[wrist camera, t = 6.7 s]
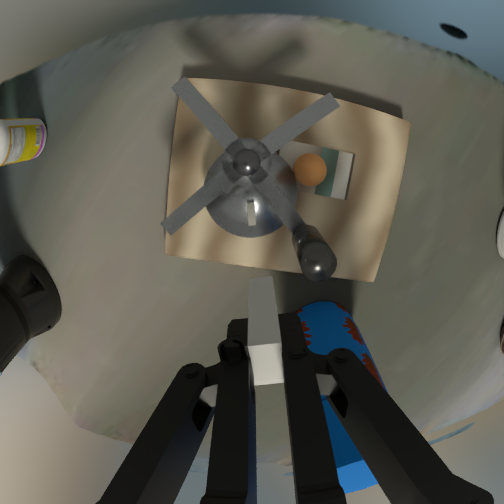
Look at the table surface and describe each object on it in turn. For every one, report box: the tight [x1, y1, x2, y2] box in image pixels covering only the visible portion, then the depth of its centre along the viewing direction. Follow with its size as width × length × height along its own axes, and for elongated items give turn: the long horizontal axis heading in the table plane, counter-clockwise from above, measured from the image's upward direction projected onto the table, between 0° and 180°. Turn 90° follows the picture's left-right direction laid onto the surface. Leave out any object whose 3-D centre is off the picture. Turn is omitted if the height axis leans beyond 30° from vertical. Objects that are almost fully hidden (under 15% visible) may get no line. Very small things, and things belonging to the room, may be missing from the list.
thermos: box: [296, 301, 388, 493], centre depth 29 cm, size 11×11×25 cm
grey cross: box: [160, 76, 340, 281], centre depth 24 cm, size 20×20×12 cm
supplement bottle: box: [0, 118, 47, 166], centre depth 24 cm, size 7×7×13 cm
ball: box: [293, 153, 327, 186], centre depth 28 cm, size 4×4×4 cm
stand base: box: [165, 78, 411, 282], centre depth 32 cm, size 28×22×2 cm
